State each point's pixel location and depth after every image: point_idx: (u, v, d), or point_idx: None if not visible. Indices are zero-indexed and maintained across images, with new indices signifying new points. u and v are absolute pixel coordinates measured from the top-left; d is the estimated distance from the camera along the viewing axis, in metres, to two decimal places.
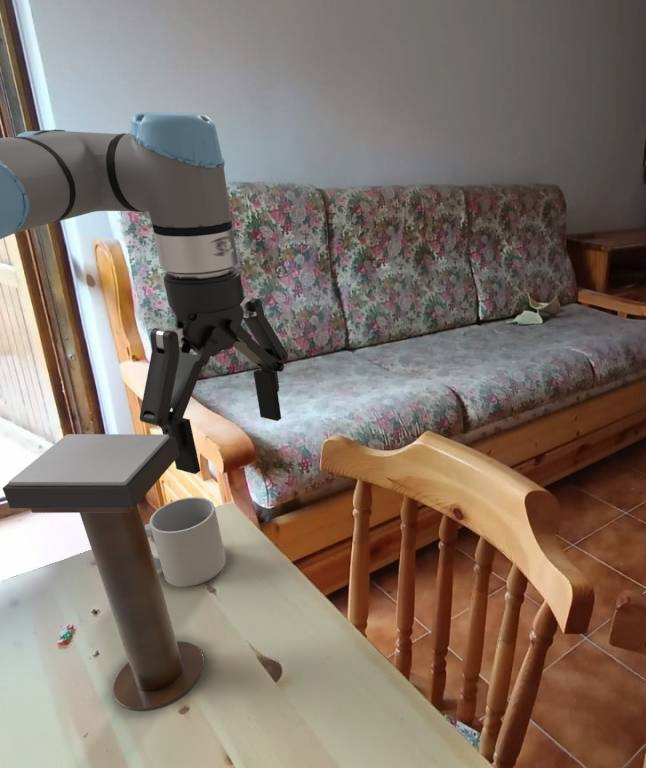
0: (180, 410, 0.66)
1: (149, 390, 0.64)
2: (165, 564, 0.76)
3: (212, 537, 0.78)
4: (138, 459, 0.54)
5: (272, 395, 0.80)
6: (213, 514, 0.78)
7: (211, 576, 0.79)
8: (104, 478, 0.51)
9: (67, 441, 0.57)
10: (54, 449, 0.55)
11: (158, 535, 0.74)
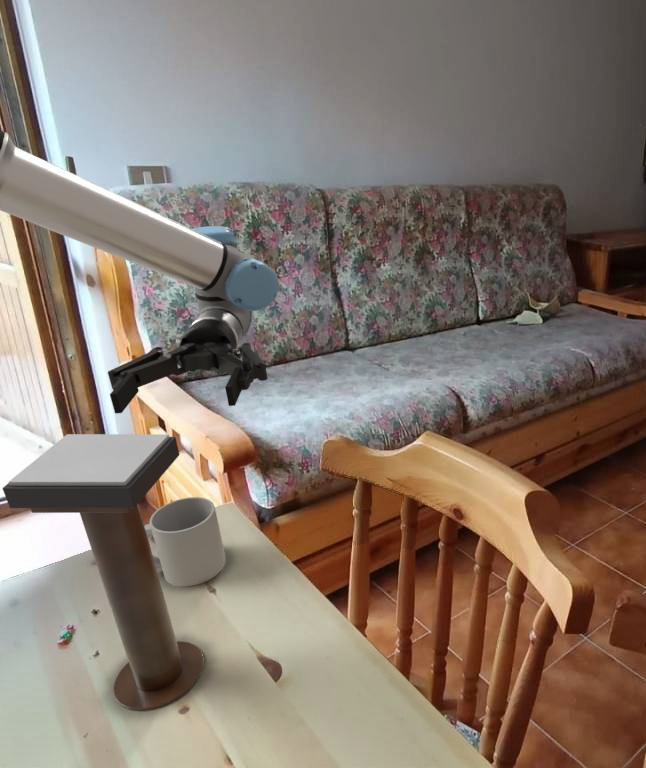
0: None
1: None
2: (165, 564, 0.76)
3: (212, 537, 0.78)
4: (138, 459, 0.54)
5: (130, 398, 0.83)
6: (213, 514, 0.78)
7: (211, 576, 0.79)
8: (104, 478, 0.51)
9: (67, 441, 0.57)
10: (54, 449, 0.55)
11: (158, 535, 0.74)
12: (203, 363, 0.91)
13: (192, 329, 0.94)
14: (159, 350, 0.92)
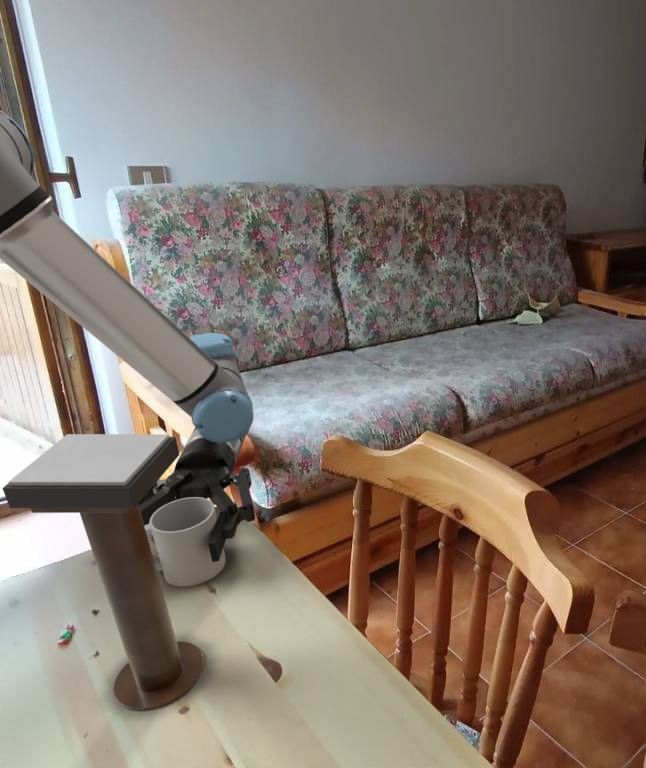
0: None
1: None
2: (165, 564, 0.76)
3: None
4: (138, 459, 0.54)
5: None
6: (213, 514, 0.78)
7: (211, 576, 0.79)
8: (104, 478, 0.51)
9: (67, 441, 0.57)
10: (54, 449, 0.55)
11: (158, 535, 0.74)
12: (199, 494, 0.86)
13: (188, 453, 0.89)
14: None
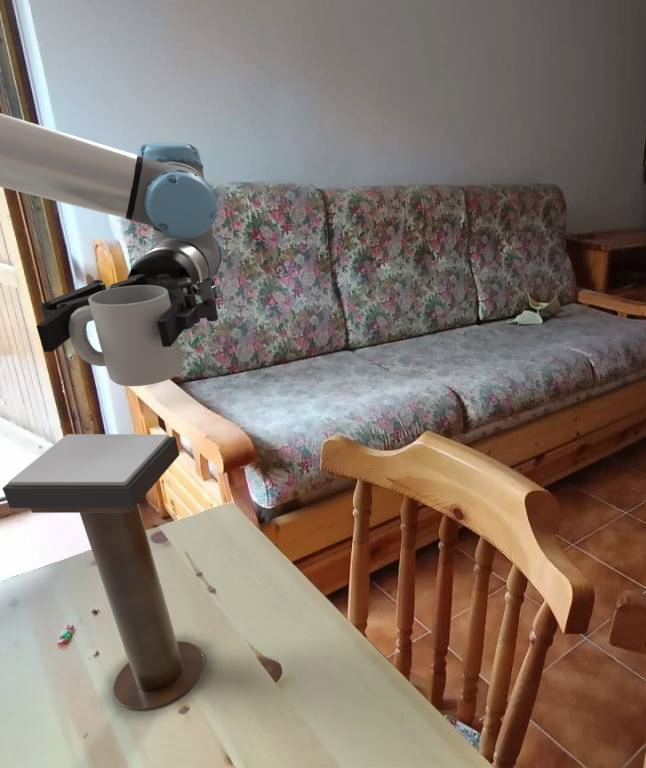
0: None
1: None
2: (107, 351, 0.64)
3: None
4: (138, 459, 0.54)
5: (67, 336, 0.65)
6: (165, 297, 0.66)
7: (163, 373, 0.67)
8: (104, 478, 0.51)
9: (67, 441, 0.57)
10: (54, 449, 0.55)
11: (98, 310, 0.62)
12: None
13: (143, 258, 0.77)
14: (100, 283, 0.74)
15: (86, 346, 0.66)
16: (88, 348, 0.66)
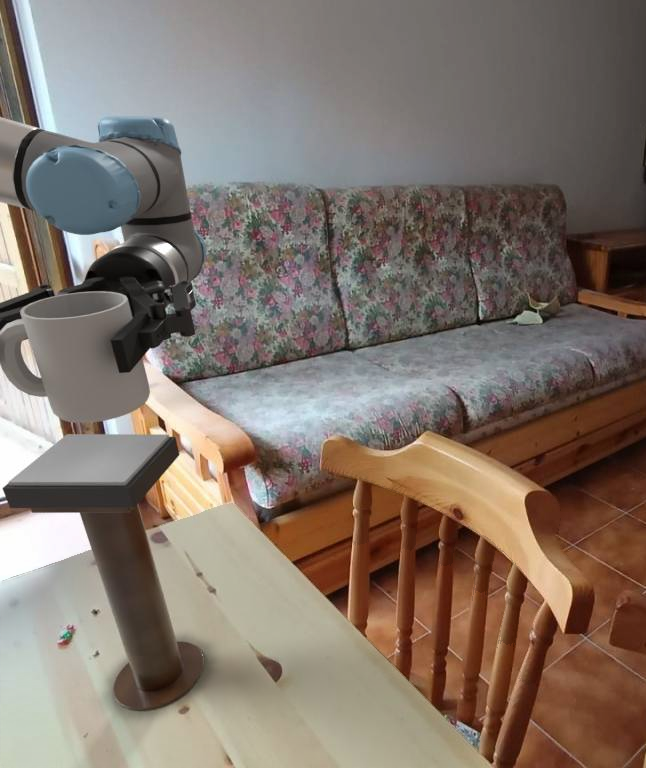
0: None
1: None
2: (47, 379, 0.49)
3: None
4: (138, 459, 0.54)
5: None
6: (124, 307, 0.50)
7: (123, 405, 0.52)
8: (104, 478, 0.51)
9: (67, 441, 0.57)
10: (54, 449, 0.55)
11: (32, 325, 0.47)
12: None
13: (103, 257, 0.62)
14: (47, 288, 0.59)
15: (22, 371, 0.51)
16: (23, 375, 0.51)
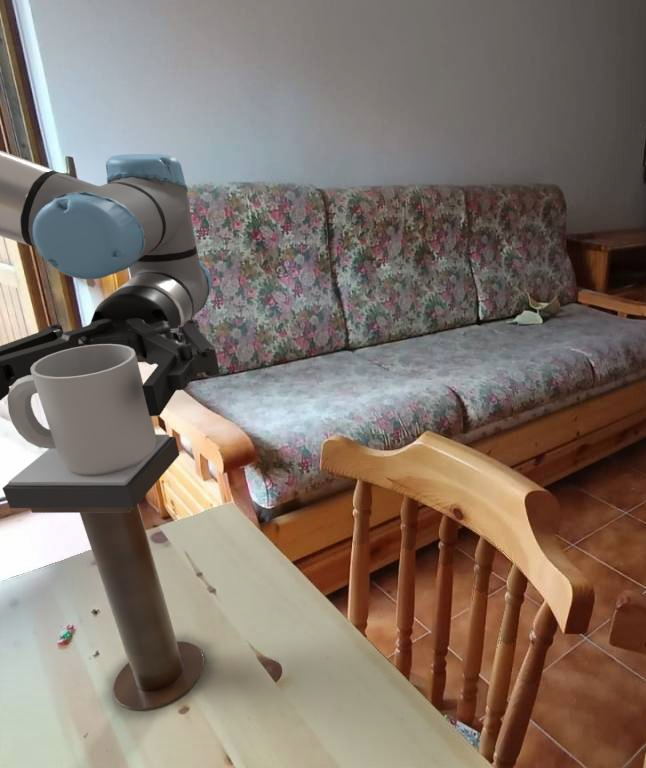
0: None
1: None
2: (56, 434, 0.50)
3: (130, 396, 0.51)
4: None
5: None
6: (132, 362, 0.51)
7: (130, 457, 0.53)
8: (104, 478, 0.51)
9: None
10: (54, 449, 0.55)
11: (42, 383, 0.48)
12: None
13: (109, 298, 0.63)
14: (56, 329, 0.60)
15: (32, 425, 0.52)
16: (33, 428, 0.52)
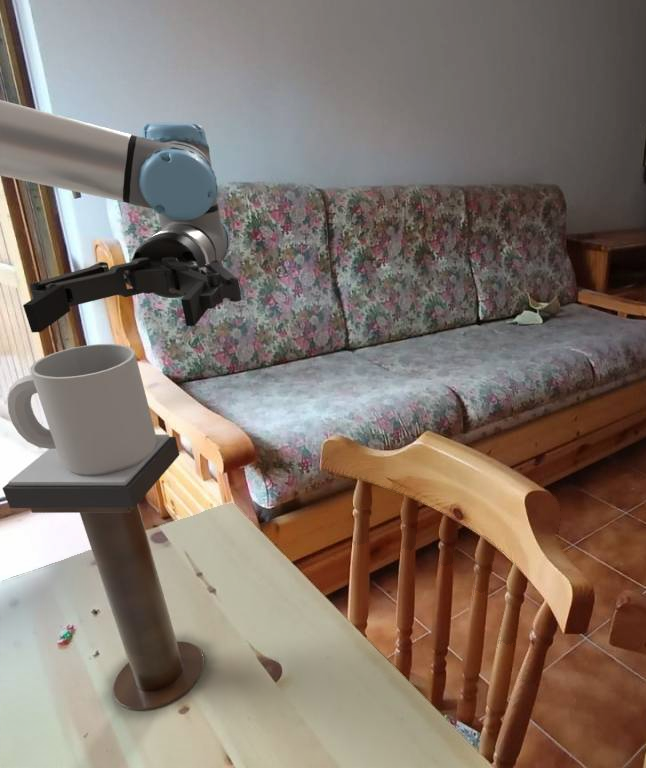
0: None
1: None
2: (56, 434, 0.50)
3: (130, 396, 0.51)
4: None
5: (56, 317, 0.62)
6: (131, 362, 0.51)
7: (130, 457, 0.53)
8: (104, 478, 0.51)
9: None
10: (54, 449, 0.55)
11: (41, 383, 0.48)
12: (159, 281, 0.71)
13: (147, 241, 0.74)
14: (103, 265, 0.72)
15: (31, 425, 0.52)
16: (33, 428, 0.52)
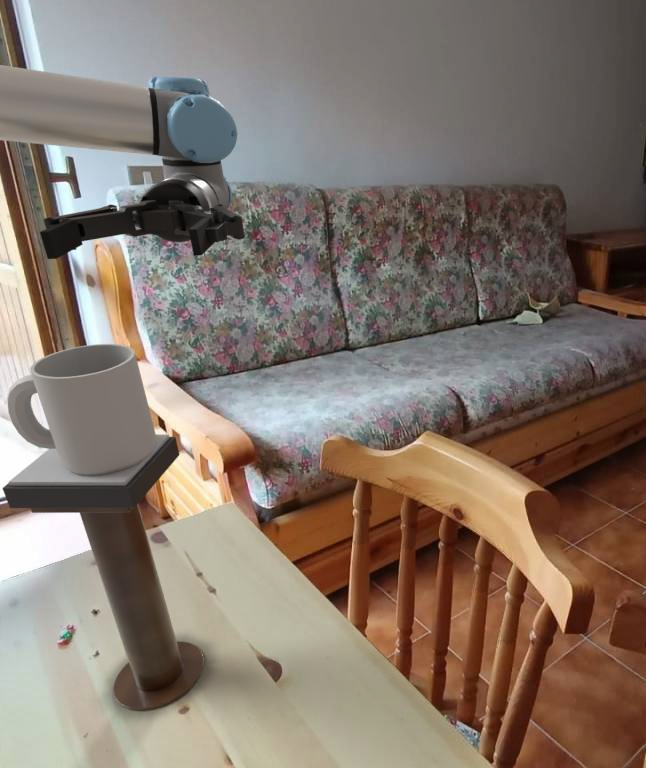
0: None
1: None
2: (56, 434, 0.50)
3: (130, 396, 0.51)
4: None
5: (70, 248, 0.66)
6: (131, 362, 0.51)
7: (130, 457, 0.53)
8: (104, 478, 0.51)
9: None
10: (54, 449, 0.55)
11: (41, 383, 0.48)
12: (166, 221, 0.74)
13: (154, 186, 0.77)
14: (112, 207, 0.75)
15: (32, 425, 0.52)
16: (33, 428, 0.52)
